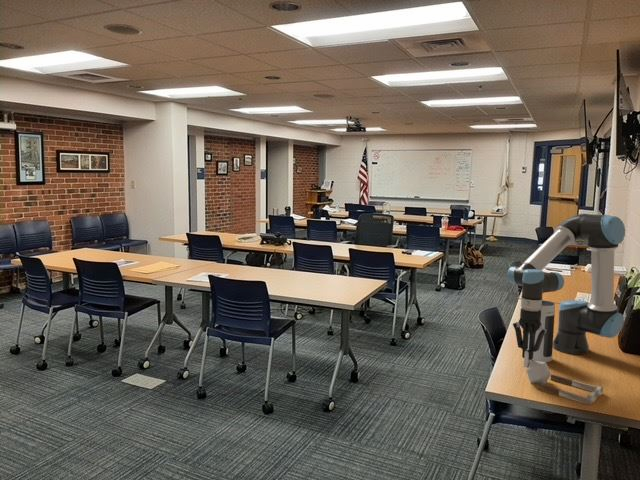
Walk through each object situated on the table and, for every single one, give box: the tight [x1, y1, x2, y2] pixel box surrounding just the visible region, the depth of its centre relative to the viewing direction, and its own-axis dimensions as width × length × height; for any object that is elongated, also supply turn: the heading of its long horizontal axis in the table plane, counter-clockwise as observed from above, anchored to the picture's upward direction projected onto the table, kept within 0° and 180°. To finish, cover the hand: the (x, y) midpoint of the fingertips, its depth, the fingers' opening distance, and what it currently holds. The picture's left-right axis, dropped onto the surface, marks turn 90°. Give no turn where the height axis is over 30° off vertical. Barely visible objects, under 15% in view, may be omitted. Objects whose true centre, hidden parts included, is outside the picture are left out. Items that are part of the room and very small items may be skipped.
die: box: [525, 360, 552, 385], centre depth 192 cm, size 8×9×10 cm
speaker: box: [527, 299, 556, 363], centre depth 217 cm, size 11×10×26 cm
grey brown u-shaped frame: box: [536, 373, 604, 406], centre depth 184 cm, size 14×18×3 cm
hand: (527, 366), depth 195 cm, fingers closed
